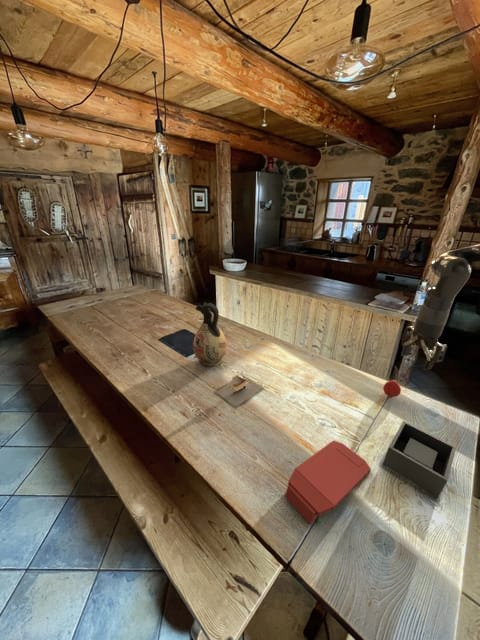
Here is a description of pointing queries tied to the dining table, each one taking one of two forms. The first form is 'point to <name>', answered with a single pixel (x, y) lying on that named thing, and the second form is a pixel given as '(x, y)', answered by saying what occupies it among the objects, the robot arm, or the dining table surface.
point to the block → (420, 453)
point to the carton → (325, 480)
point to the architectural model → (239, 390)
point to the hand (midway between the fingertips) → (415, 361)
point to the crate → (414, 470)
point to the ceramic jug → (209, 337)
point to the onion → (392, 388)
